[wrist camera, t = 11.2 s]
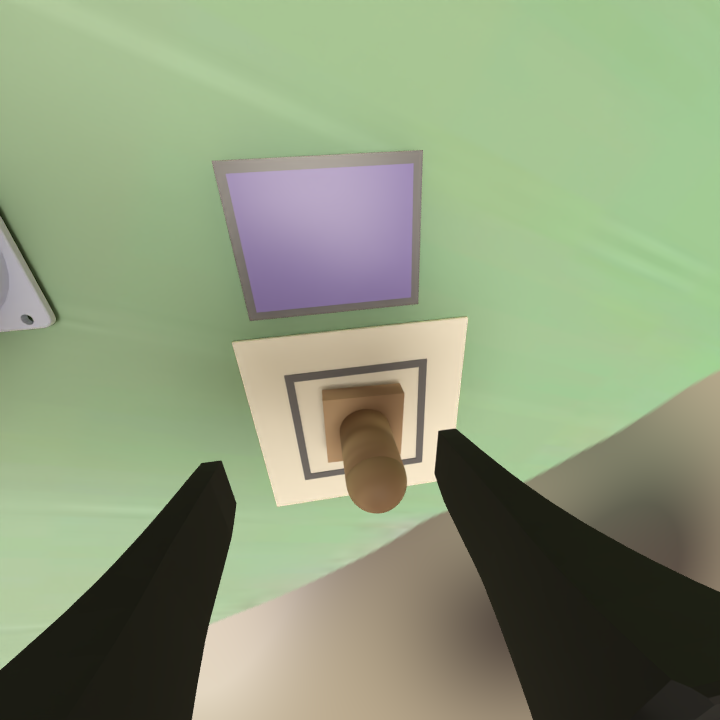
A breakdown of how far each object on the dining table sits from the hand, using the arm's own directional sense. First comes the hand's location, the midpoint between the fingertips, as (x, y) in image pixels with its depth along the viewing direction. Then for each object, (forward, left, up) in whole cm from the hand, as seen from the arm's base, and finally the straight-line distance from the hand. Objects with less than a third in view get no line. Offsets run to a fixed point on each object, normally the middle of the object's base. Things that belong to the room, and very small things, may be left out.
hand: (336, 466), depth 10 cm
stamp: (+2, -5, -9) cm, 11 cm away
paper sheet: (+2, -6, -9) cm, 11 cm away
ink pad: (+1, +6, -9) cm, 11 cm away
